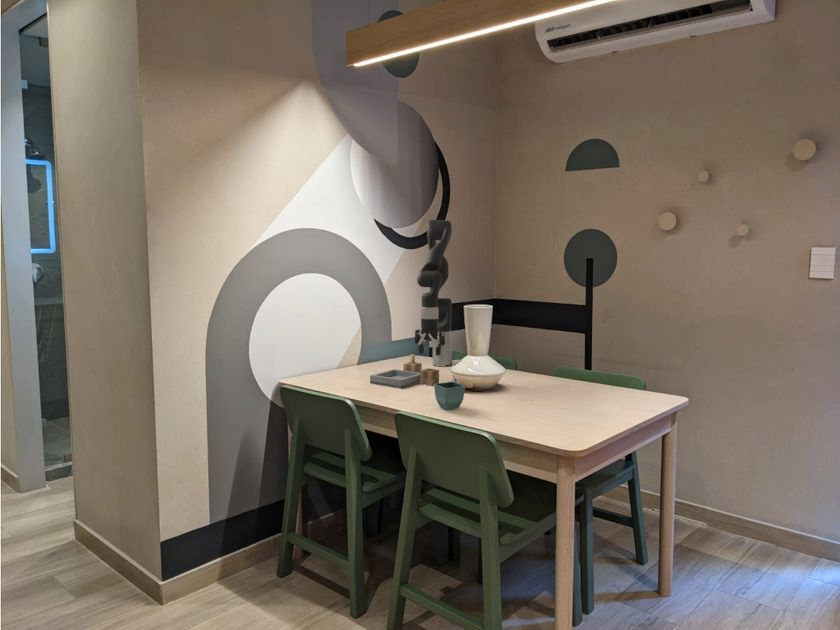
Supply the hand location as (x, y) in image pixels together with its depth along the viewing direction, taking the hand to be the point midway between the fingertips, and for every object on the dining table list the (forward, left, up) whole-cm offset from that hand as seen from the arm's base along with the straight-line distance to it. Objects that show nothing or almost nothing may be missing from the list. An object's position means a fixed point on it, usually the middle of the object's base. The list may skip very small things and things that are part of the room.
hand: (429, 354), depth 295 cm
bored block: (0, 0, -13) cm, 13 cm away
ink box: (-2, +16, -13) cm, 21 cm away
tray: (+6, -13, -13) cm, 19 cm away
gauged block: (-8, -15, -13) cm, 21 cm away
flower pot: (+30, +30, -13) cm, 44 cm away
